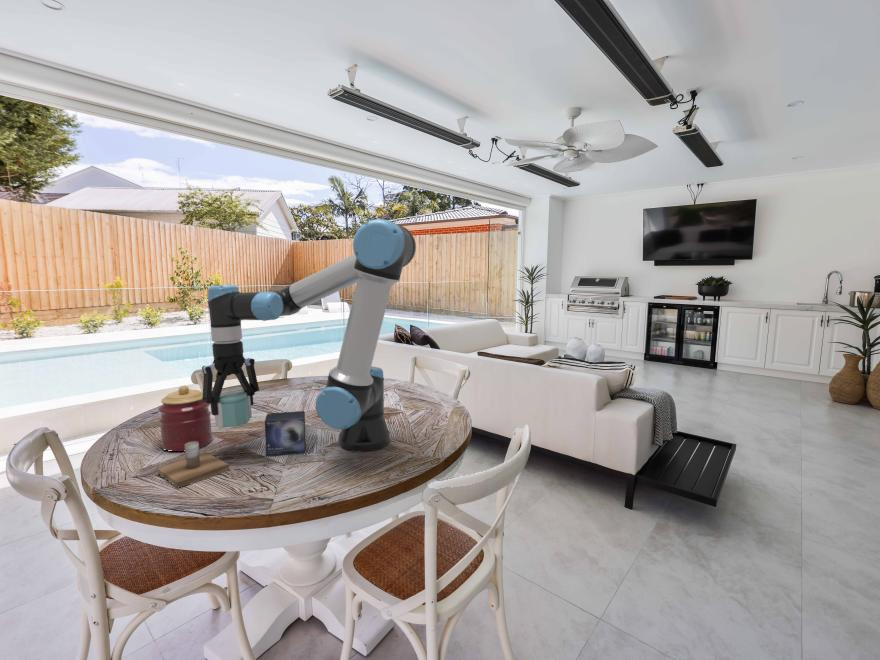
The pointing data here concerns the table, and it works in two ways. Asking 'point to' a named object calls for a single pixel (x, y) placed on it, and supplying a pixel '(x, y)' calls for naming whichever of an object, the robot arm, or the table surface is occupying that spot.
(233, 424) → the lidded container
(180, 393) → the canister
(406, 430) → the table surface
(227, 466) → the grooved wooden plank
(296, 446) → the small box
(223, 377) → the robot arm
